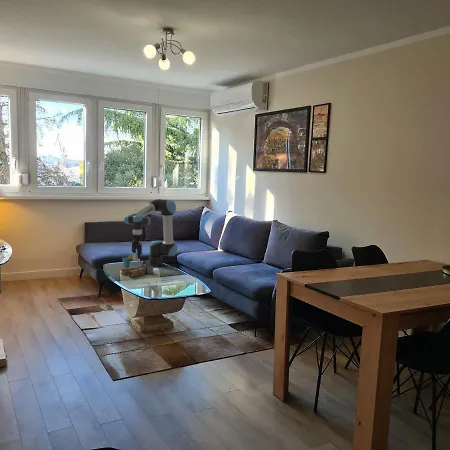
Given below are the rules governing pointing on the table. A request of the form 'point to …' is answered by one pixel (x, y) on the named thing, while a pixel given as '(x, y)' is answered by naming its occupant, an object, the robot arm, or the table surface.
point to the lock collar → (148, 267)
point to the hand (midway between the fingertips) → (136, 261)
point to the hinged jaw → (137, 272)
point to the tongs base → (126, 270)
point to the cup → (126, 260)
